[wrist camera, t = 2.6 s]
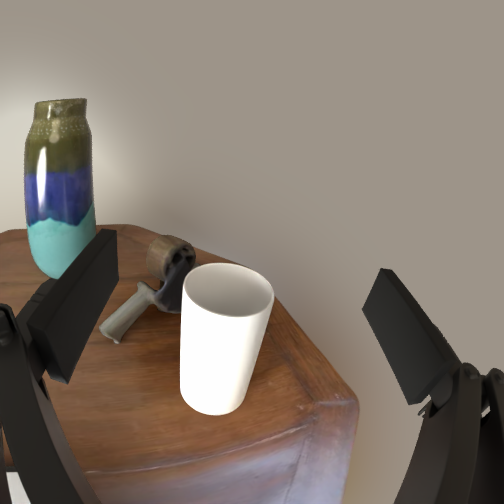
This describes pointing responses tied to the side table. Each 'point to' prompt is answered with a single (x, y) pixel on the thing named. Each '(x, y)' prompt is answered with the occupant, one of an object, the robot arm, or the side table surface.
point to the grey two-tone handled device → (171, 285)
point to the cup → (221, 334)
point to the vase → (59, 184)
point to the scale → (16, 487)
